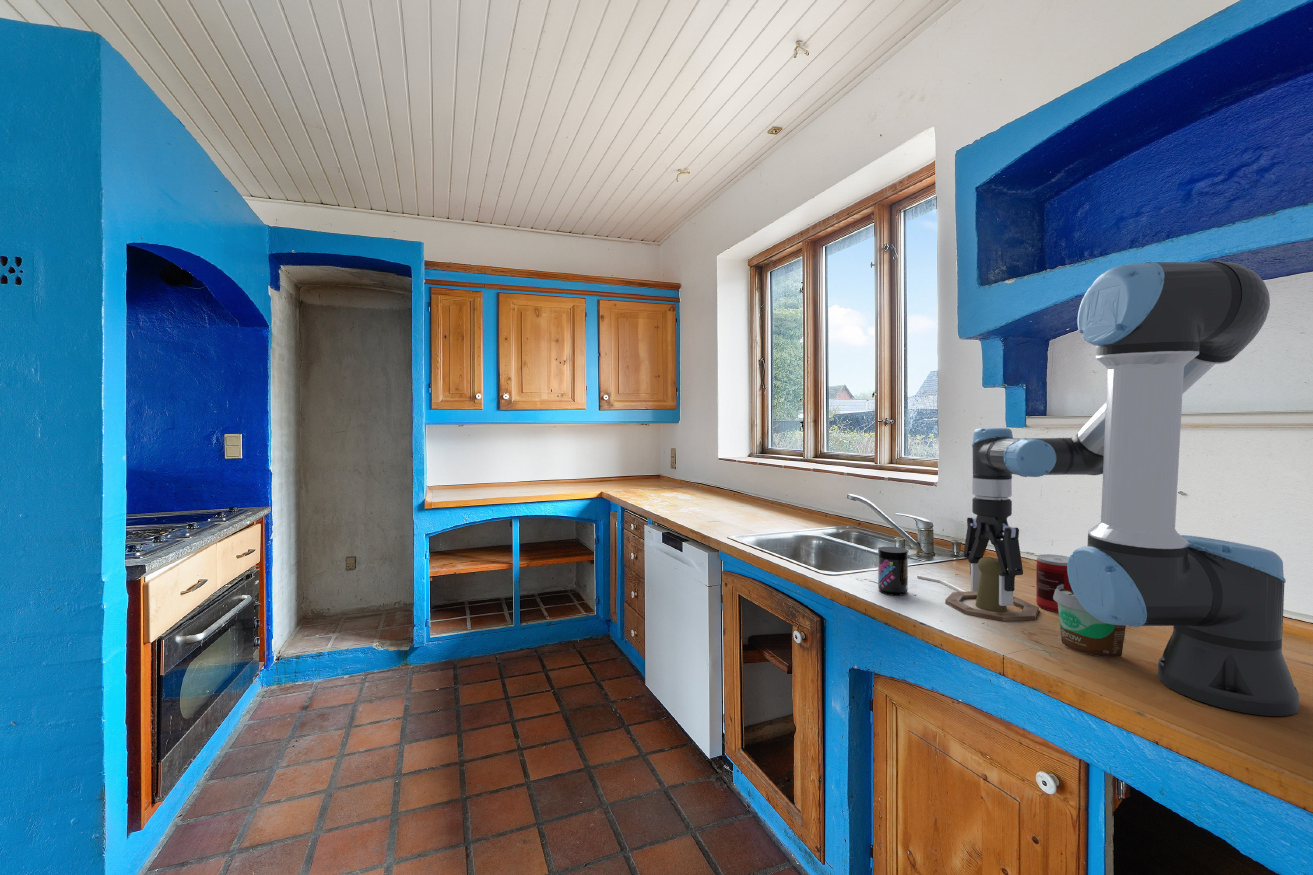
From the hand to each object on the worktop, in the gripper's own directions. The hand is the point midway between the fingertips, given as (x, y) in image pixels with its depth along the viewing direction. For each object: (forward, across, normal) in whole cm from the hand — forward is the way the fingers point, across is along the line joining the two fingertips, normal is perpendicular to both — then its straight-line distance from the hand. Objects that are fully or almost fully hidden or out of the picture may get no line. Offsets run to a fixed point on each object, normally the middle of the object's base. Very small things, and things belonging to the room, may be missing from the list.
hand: (991, 597), depth 125 cm
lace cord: (+2, +16, +2) cm, 17 cm away
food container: (+2, -23, -1) cm, 23 cm away
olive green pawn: (+2, 0, 0) cm, 2 cm away
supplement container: (+2, +13, +16) cm, 21 cm away
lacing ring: (+2, 0, 0) cm, 2 cm away
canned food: (+2, -2, -14) cm, 14 cm away
